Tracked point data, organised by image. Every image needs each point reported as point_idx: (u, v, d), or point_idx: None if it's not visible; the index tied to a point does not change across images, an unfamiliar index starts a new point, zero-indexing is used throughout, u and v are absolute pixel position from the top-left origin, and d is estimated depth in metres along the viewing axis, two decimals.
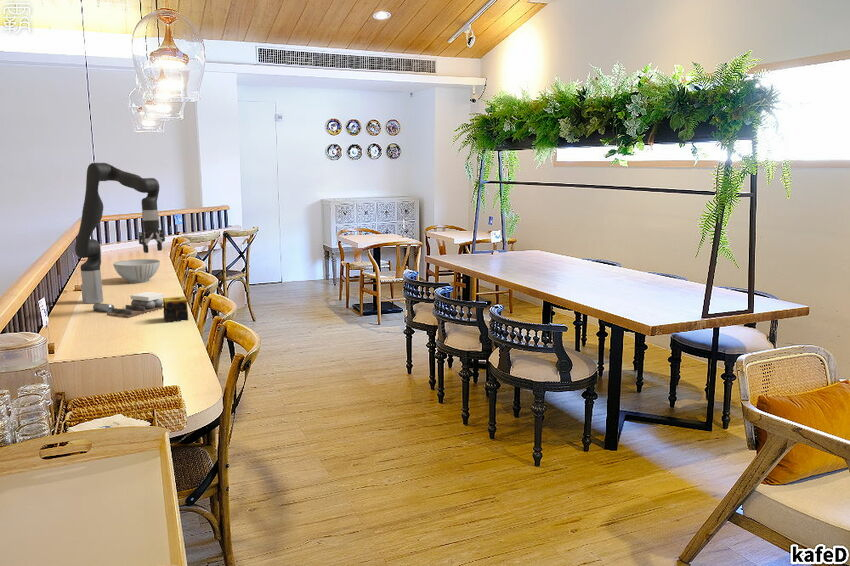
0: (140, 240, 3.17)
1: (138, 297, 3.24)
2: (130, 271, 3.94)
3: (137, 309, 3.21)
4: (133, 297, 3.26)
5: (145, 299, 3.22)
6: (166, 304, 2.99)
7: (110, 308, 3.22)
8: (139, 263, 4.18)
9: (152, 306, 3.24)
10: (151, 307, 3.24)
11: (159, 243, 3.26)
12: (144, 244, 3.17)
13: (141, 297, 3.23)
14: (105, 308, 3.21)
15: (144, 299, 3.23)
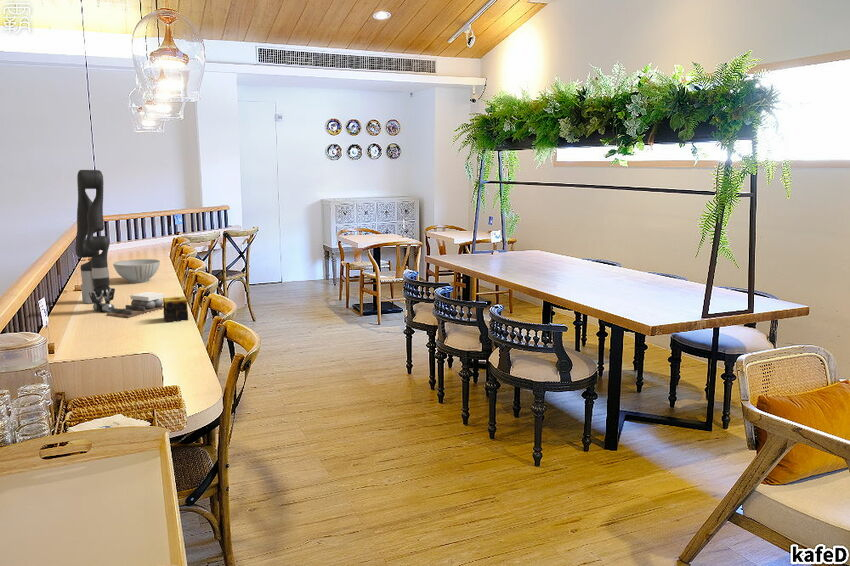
0: (92, 300, 3.19)
1: (138, 297, 3.24)
2: (130, 271, 3.94)
3: (137, 309, 3.21)
4: (133, 297, 3.26)
5: (145, 299, 3.22)
6: (166, 304, 2.99)
7: (110, 308, 3.22)
8: (139, 263, 4.18)
9: (152, 306, 3.24)
10: (151, 307, 3.24)
11: (107, 302, 3.25)
12: (97, 303, 3.20)
13: (141, 297, 3.23)
14: (105, 308, 3.21)
15: (144, 299, 3.23)
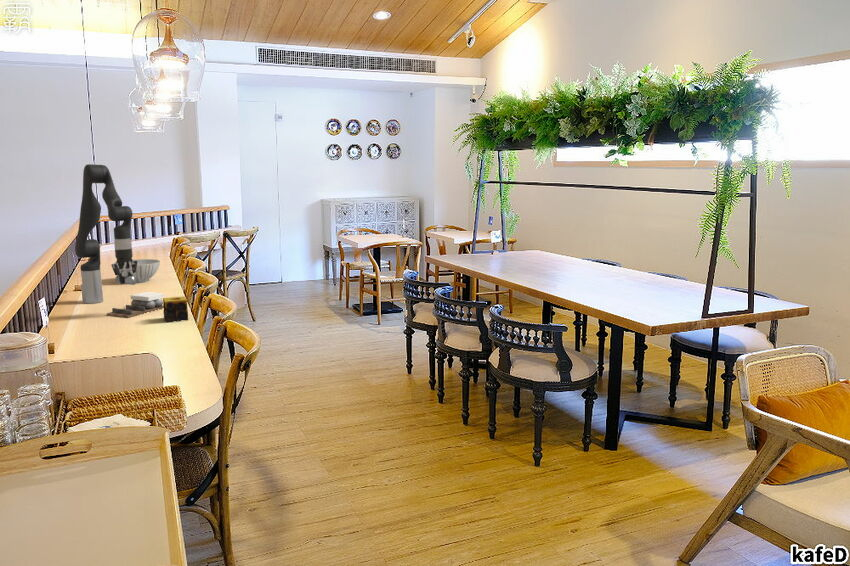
0: (115, 271, 3.11)
1: (138, 297, 3.24)
2: None
3: (137, 309, 3.21)
4: (133, 297, 3.26)
5: (145, 299, 3.22)
6: (166, 304, 2.99)
7: (133, 280, 3.14)
8: (139, 263, 4.18)
9: (152, 306, 3.24)
10: (151, 307, 3.24)
11: (129, 274, 3.17)
12: (120, 275, 3.12)
13: (141, 297, 3.23)
14: (128, 280, 3.12)
15: (144, 299, 3.23)
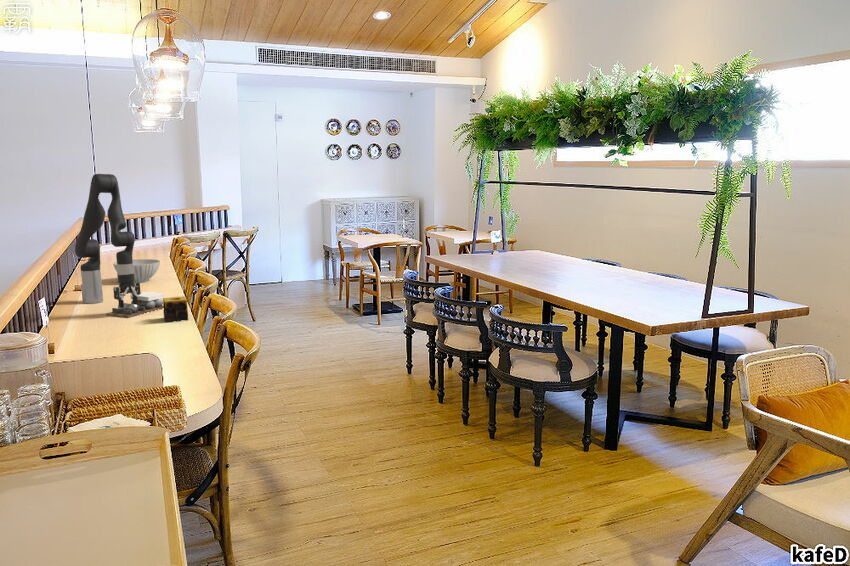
0: (115, 295, 3.12)
1: (138, 297, 3.24)
2: None
3: None
4: None
5: (145, 299, 3.22)
6: (166, 304, 2.99)
7: (135, 308, 3.16)
8: (139, 263, 4.18)
9: (152, 306, 3.24)
10: (151, 307, 3.24)
11: (134, 297, 3.21)
12: (119, 299, 3.12)
13: (141, 297, 3.23)
14: (130, 308, 3.15)
15: (144, 299, 3.23)
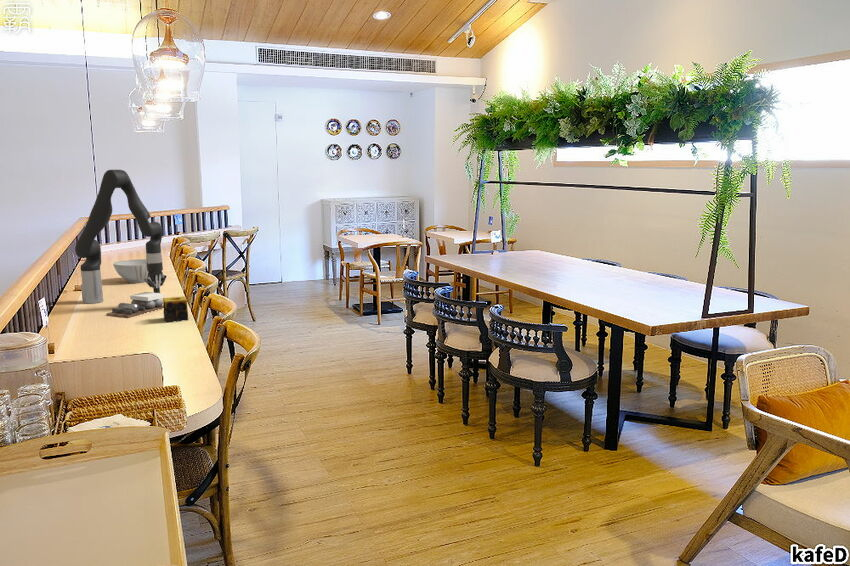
0: None
1: (138, 297, 3.24)
2: (130, 271, 3.94)
3: None
4: (132, 297, 3.25)
5: (145, 299, 3.22)
6: (166, 304, 2.99)
7: (136, 308, 3.16)
8: (139, 263, 4.18)
9: (152, 306, 3.24)
10: (151, 307, 3.24)
11: None
12: (154, 287, 3.32)
13: (141, 297, 3.23)
14: (131, 308, 3.15)
15: (144, 299, 3.22)
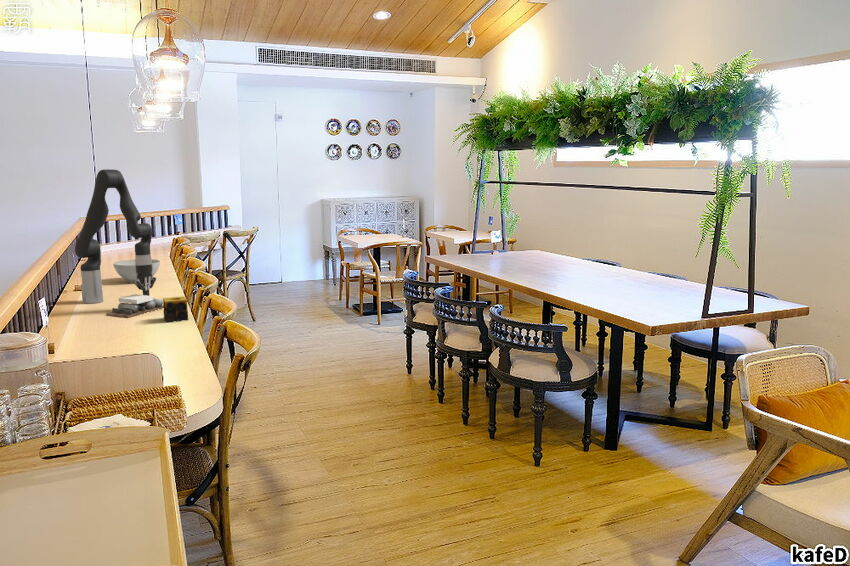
0: None
1: (126, 300, 3.18)
2: (130, 271, 3.94)
3: None
4: (121, 300, 3.19)
5: (133, 302, 3.16)
6: (166, 304, 2.99)
7: (136, 308, 3.16)
8: None
9: (152, 306, 3.24)
10: (151, 307, 3.24)
11: (146, 290, 3.27)
12: (144, 289, 3.25)
13: (129, 300, 3.17)
14: (131, 308, 3.15)
15: (132, 302, 3.16)
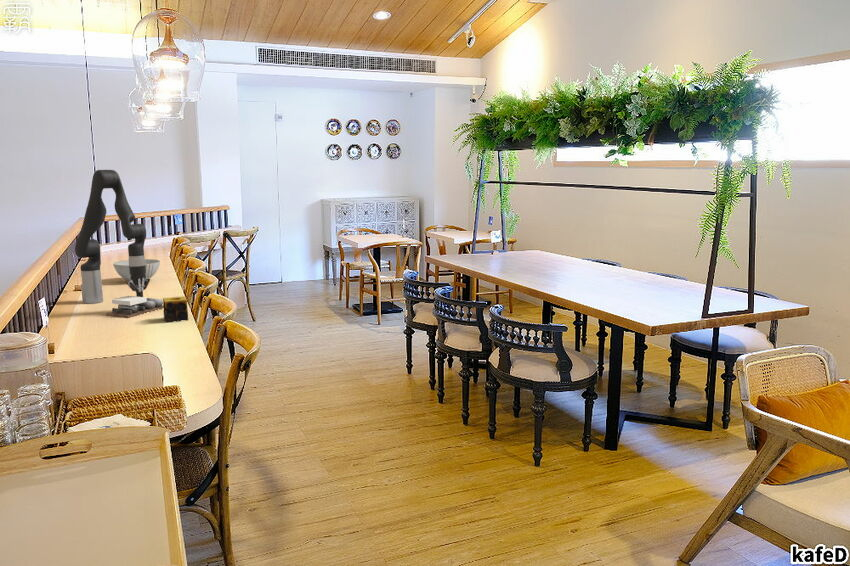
0: (132, 288, 3.21)
1: (120, 301, 3.14)
2: None
3: None
4: (114, 301, 3.16)
5: (127, 303, 3.12)
6: (166, 304, 2.99)
7: (136, 308, 3.16)
8: None
9: (152, 306, 3.24)
10: (151, 307, 3.24)
11: None
12: (137, 291, 3.22)
13: (123, 301, 3.13)
14: (131, 308, 3.15)
15: (126, 303, 3.13)
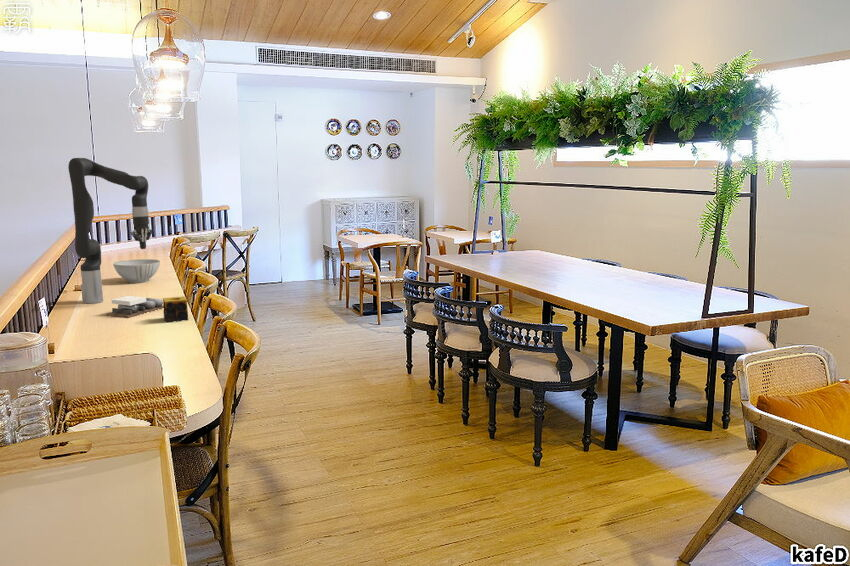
0: (135, 238, 3.33)
1: (119, 301, 3.14)
2: (130, 271, 3.94)
3: None
4: (114, 301, 3.15)
5: (126, 303, 3.12)
6: (166, 304, 2.99)
7: (135, 308, 3.16)
8: (139, 263, 4.18)
9: (152, 306, 3.24)
10: (151, 307, 3.24)
11: None
12: (140, 241, 3.34)
13: (122, 301, 3.13)
14: (130, 308, 3.15)
15: (125, 303, 3.12)
